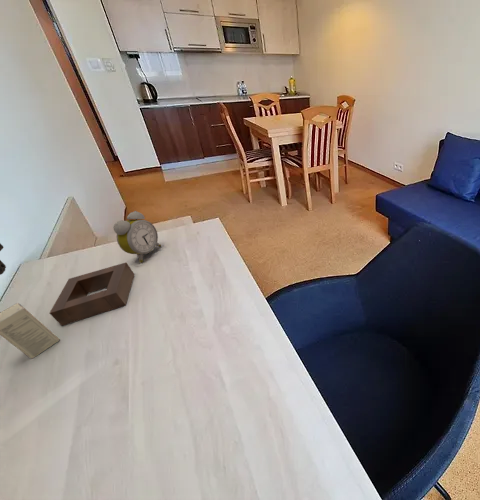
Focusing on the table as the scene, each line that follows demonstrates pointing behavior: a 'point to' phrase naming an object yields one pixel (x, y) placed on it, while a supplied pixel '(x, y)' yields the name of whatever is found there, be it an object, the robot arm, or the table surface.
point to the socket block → (82, 306)
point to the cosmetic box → (25, 331)
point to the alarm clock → (136, 235)
